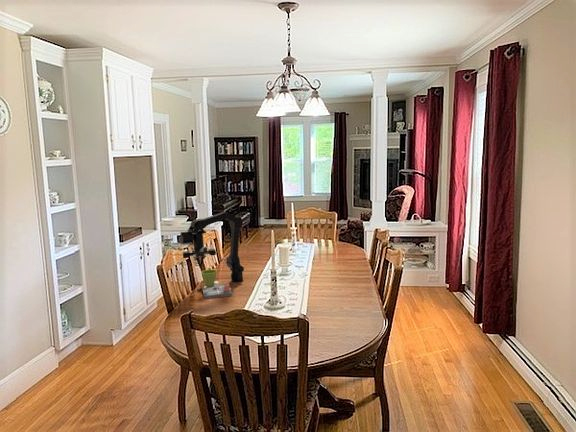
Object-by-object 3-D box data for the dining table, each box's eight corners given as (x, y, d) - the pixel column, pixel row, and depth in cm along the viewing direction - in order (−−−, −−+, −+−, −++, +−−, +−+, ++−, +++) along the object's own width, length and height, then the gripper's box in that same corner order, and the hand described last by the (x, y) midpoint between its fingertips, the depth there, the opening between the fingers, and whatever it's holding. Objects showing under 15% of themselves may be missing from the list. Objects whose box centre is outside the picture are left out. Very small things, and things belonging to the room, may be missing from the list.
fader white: (218, 286, 264) (218, 281, 263) (219, 287, 260) (218, 282, 260) (214, 286, 263) (214, 281, 263) (215, 288, 260) (214, 283, 259)
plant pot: (202, 288, 266) (201, 274, 265) (201, 284, 275) (200, 270, 274) (218, 286, 268) (217, 272, 267) (217, 282, 277) (216, 268, 276)
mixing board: (228, 286, 268) (228, 281, 267) (232, 295, 250) (231, 290, 250) (202, 289, 264) (201, 285, 264) (204, 298, 247) (203, 293, 247)
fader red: (228, 289, 256) (227, 284, 256) (229, 291, 253) (228, 286, 252) (224, 290, 255) (223, 284, 255) (224, 291, 252) (224, 286, 252)
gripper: (182, 245, 253) (184, 273, 255) (215, 242, 257) (217, 269, 259) (181, 242, 263) (183, 268, 265) (214, 239, 268) (216, 264, 270)
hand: (200, 267), depth 265 cm, fingers closed
